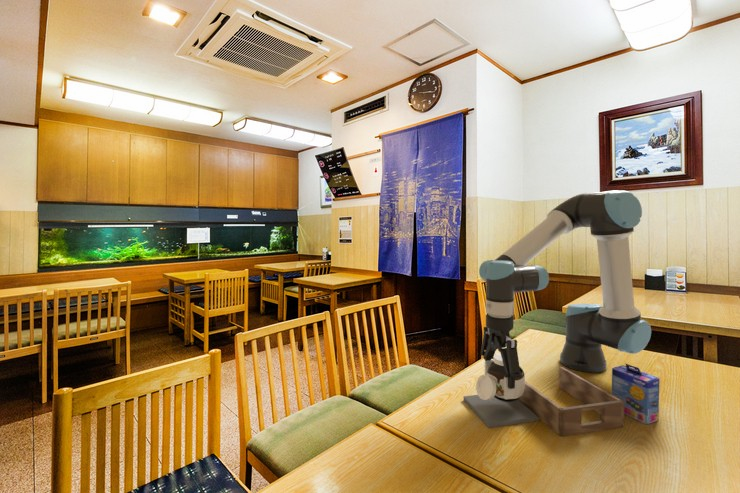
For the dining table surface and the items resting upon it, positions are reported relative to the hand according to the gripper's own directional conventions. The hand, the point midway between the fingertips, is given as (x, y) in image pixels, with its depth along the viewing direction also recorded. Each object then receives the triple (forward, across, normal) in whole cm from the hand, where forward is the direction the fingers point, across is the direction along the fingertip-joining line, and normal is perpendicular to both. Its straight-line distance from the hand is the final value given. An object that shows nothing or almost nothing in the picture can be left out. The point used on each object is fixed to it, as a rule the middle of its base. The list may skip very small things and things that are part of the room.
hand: (498, 389), depth 103 cm
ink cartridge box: (+6, +10, +36) cm, 38 cm away
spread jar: (+2, 0, 0) cm, 2 cm away
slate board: (+6, 0, 0) cm, 6 cm away
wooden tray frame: (+6, +3, +18) cm, 19 cm away
